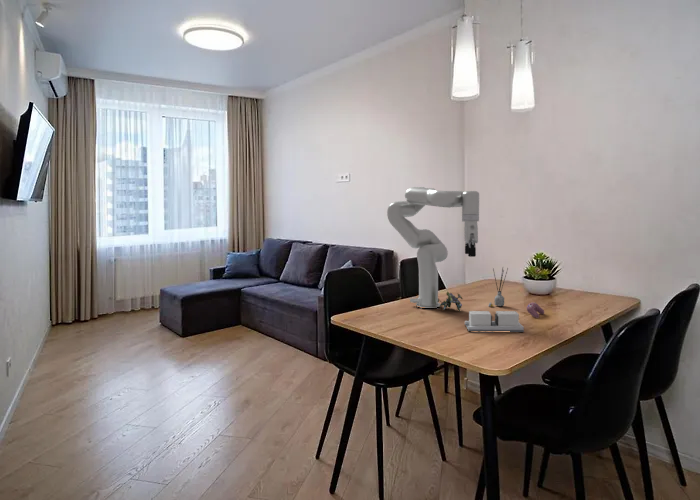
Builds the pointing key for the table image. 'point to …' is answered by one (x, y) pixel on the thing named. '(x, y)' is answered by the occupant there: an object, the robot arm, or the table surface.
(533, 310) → the video game controller
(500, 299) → the reed diffuser
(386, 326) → the table surface
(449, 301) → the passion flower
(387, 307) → the table surface
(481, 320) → the block
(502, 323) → the rail dock
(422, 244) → the robot arm
